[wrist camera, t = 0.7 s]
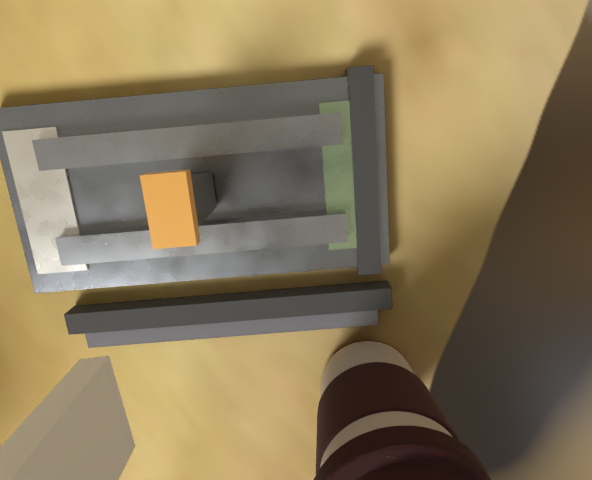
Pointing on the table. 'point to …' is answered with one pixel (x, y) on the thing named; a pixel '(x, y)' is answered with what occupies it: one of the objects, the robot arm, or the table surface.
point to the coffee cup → (384, 422)
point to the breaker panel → (199, 159)
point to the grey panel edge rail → (365, 168)
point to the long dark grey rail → (230, 314)
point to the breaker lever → (177, 206)
